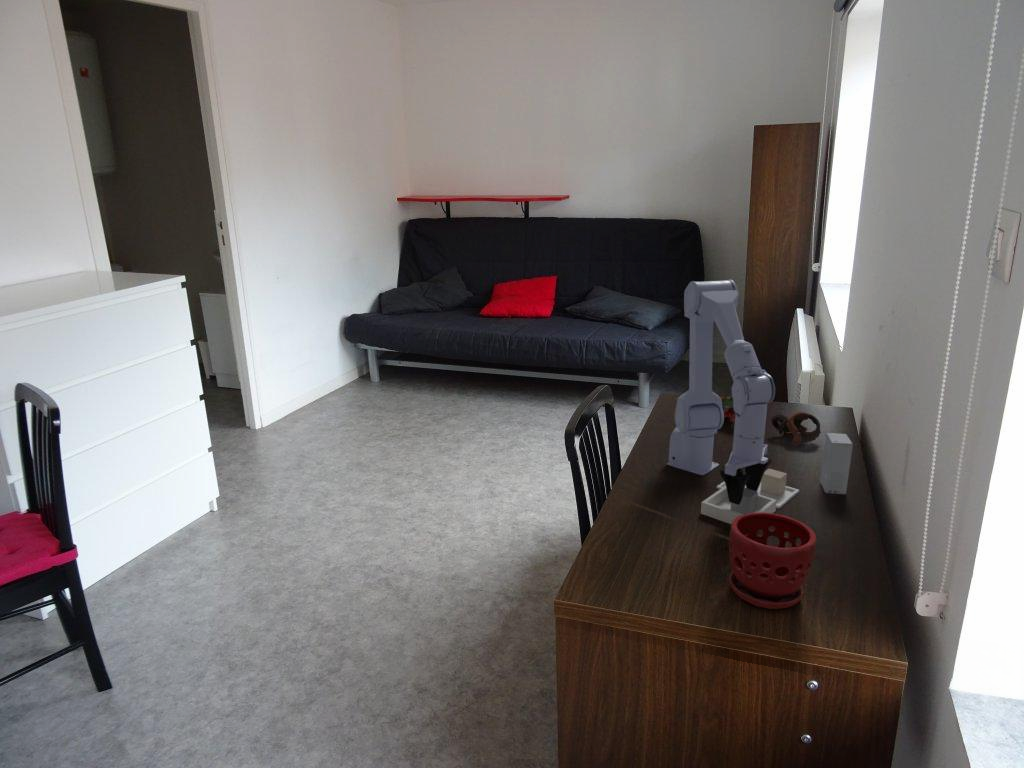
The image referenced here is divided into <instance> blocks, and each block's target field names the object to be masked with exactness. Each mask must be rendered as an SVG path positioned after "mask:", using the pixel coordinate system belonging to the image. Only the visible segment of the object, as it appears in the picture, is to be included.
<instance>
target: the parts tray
mask: <svg viewBox="0 0 1024 768" xmlns="http://www.w3.org/2000/svg"><path fill="white" fill-rule="evenodd" d="M724 486H726V484H725V482H724V481H722V482H721V483H720V484H717V485H716V489H717V490H720V489H721V488H723V487H724ZM745 488H746V485H745ZM760 489H761V482H760V485H759V488H758V490H757V492H758V494H759V495H762V496H765V497H769V498H772V499H775V500H777V501H776V509H781V508H782V507H783V506H784V505H786V504H787V502H789V501H791V500H792V499H794V497H795V496H797V494H799V493H800V489H798V488H794V487H791V486H787V485H786V488H785V491H784V492H783V493H782V494H780V495H779V496H777V495H774V494H770V493H767V492H764V491H761V490H760Z"/></svg>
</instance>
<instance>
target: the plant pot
mask: <svg viewBox="0 0 1024 768" xmlns="http://www.w3.org/2000/svg"><path fill="white" fill-rule="evenodd" d="M770 527H773V528H774V529H773V530H771V529H770ZM759 530H761V531H763V532H762V534H759V535H758V534H757V532H758V531H759ZM746 531H747V533H746V534H745V532H746ZM785 533H787V534H788V536H786V535H785ZM769 537H776V538H777V539H778V540H779V544H778V545H777V546H771V545H769V543H768V538H769ZM797 539H799V541H800V544H798V543H797ZM786 542H788V543H790V544H791V547H787V546H786V544H787V543H786ZM816 545H817V536H816V533H815V532H814V531H813V530H812V528H811V527H809V526H808V525H806V524H805V523H803V522H801V521H799V520H797V519H795V518H792V517H788V516H786V515H781V514H777V513H763V512H756V513H747V514H743V515H740V516H738V517H736V518H735V519H734V520H733V522H732V524H730V530H729V539H728V553H729V561H730V566H731V569H732V572H731V573H730V575H729V579H728V580H729V584H730V585H729V586H730V587H731V589H732V590H733V592H734V593H735V595H737V596H738V597H739V598H740V599H742V600H744V601H745V602H748V603H749V604H751V605H753V606H755V607H760V608H764V609H775V610H779V609H787V608H789V607H793V606H795V605H796V604H798V602H799V601H800V600H801V599H802V597H804V588H803V584H804V583H805V581H806V580H807V578H808V576H809V574H810V570H811V568H812V565H813V562H814V561H813V560H814V556H815V551H816Z"/></svg>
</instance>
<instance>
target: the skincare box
mask: <svg viewBox="0 0 1024 768" xmlns="http://www.w3.org/2000/svg"><path fill="white" fill-rule="evenodd" d="M853 444H854V443H852V440H851V439H850V438H849V436H848V435H847V434H846V433H833V432H827V433H826V435H825V444H824V450H823V456H822V465H821V471H820V472H821V473H820V481H819V482H820V484H821V486H822V489H823V491H824V493H826V494H837V495H847V490H848V489H847V488H848V482H849V481H848V480H849V474H850V469H851V468H850V467H851V461H852V453H853V446H854V445H853Z"/></svg>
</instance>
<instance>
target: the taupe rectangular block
mask: <svg viewBox="0 0 1024 768" xmlns="http://www.w3.org/2000/svg"><path fill="white" fill-rule="evenodd" d="M787 476H788V474H787V473H786V472H783V471H780V470H775V469H772V468H767V469H766V470H765V472H764V474H763V477H762V480H761V489H760V490H761V491H764V492H767V493H770V494H774V495H777V496H779V495H780V494H782V493H783V492H784V491H785V488H786V486H787V485H786V484H787Z"/></svg>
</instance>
